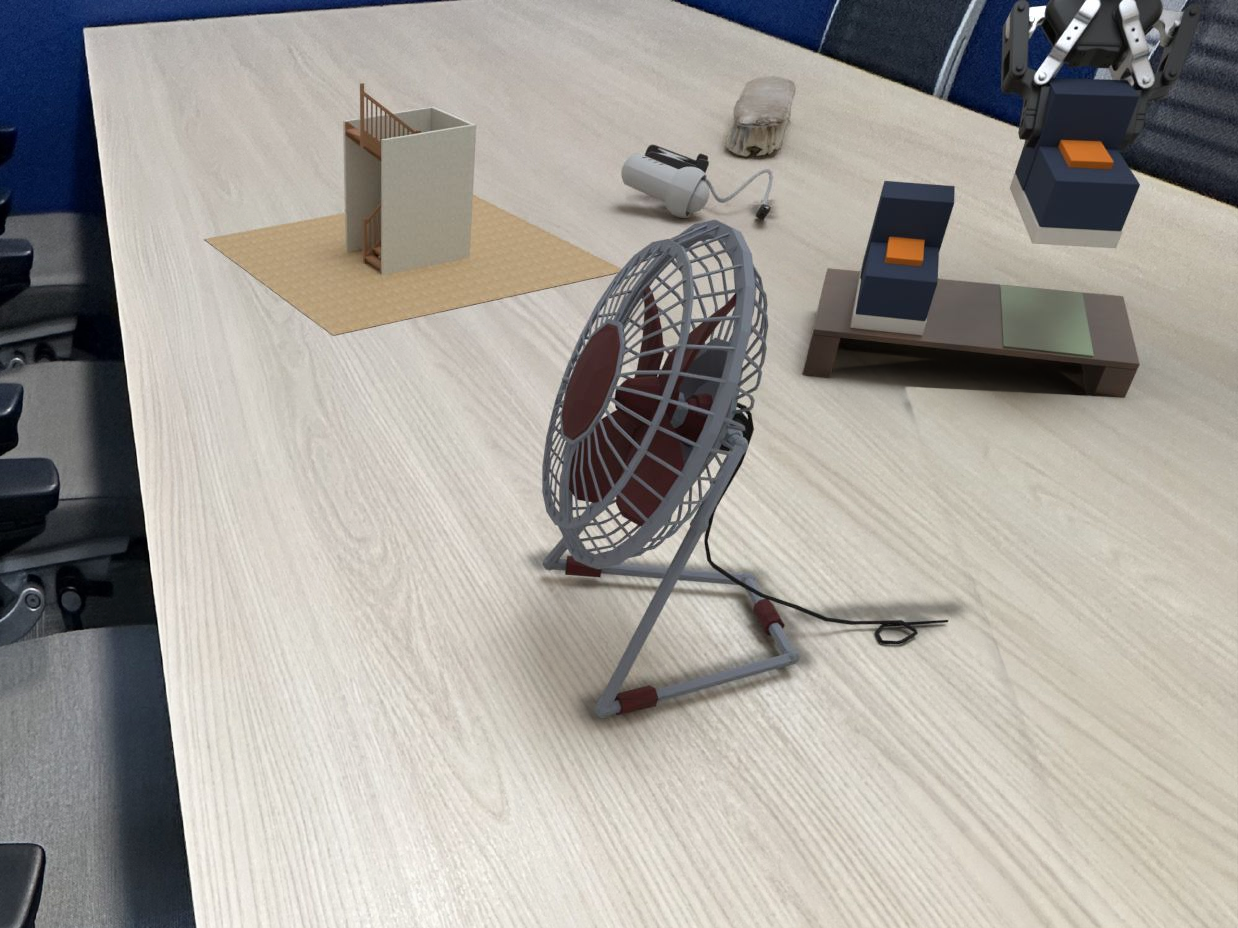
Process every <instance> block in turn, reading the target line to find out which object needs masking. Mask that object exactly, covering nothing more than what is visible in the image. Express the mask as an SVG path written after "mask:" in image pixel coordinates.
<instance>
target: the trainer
mask: <svg viewBox="0 0 1238 928" xmlns="http://www.w3.org/2000/svg"><path fill="white" fill-rule="evenodd" d="M1047 87H1050V91H1049V96H1048V102H1047V108H1046V114H1045V119H1044V125H1043V130H1042V133H1041V136H1040V138H1039V139H1038V141H1037V143H1036V144H1035V146H1034V147H1033V148H1025V147H1024V145H1023V147H1022V150H1021V153H1020V154H1019V159H1018V162H1017V164H1016V168H1015V170H1014V173H1013V177H1012V180H1011V183H1010V185H1009V190H1010V193H1011V195H1012V198H1013V200H1014V203H1015V204H1016V207H1017V209H1018V212H1019V214H1020V215H1019V216H1020V217H1021V220H1022V222H1023V224H1024V227H1025V229H1026V232H1027V235H1028V237H1029V239H1030V241H1031V244H1033V245H1049V246H1066V247H1082V248H1083V247H1085V248H1105V249H1117V247H1118V244H1119V243H1120V240H1121V237H1122V235H1123V229H1124V227H1125V224H1126V221H1127V219H1128V216H1129V214H1130V211H1131V209H1132V207H1133V204H1134V202H1135V198H1136V196H1137V194H1138V191H1139V189H1140V187H1141V183H1140V182H1139V180H1138V179H1137V178H1136V176H1135V174H1134V173H1133V171H1132V169H1131V168H1130V166H1129V165H1128V163H1127V162H1126V160H1125V158H1124V157H1123V156H1122V153H1121V152H1119V149H1120V146H1121V144H1122V141H1123V139H1124V136H1125V133H1126V131H1127V128H1128V126H1129V123H1130V120H1131V118H1132V115H1133V113H1134V110H1135V107H1136V105H1137V102H1138V100H1139V97H1140V96H1139V95H1138V94H1137V92H1136V91H1135V90H1134V88H1133V87H1132V86H1131V85H1130V83H1129V82H1128V81H1127V80H1112V79H1103V78H1102V79H1101V78H1072V77H1070V78H1067V77H1054V78H1051V79H1050V80H1049V82H1048V85H1047Z"/></svg>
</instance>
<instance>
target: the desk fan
mask: <svg viewBox="0 0 1238 928" xmlns="http://www.w3.org/2000/svg"><path fill="white" fill-rule="evenodd" d="M717 241H718V243H719V244H720V246H721V247H722V249H721V250H717V251H715V250H714V249H713V247H711V245H710V244H712V243H714V242H717ZM699 242H700V243H699ZM703 246H704V247H705V248H706V249H707V250H708V251H709V253H708V254H705V255H702V256H698V255H697V254H696V252H695V251H693V250H695V249H698V248H701V247H703ZM687 252H689V254H690V255H691V256H692V257H693V258H692V259H690V258H689V255H688V254H687ZM725 253H726V255H727V256H728V258H729V259H730V262H731V266H728V267H724V266H723V263H722V260H721V258H720V257H719V255H723V254H725ZM712 257H713V258H714V259H715V261H717V263H718V265H719V266H718V267H719V269H715V270H712V271H710V270H709V268H708V266H707V265H706V264H705V263H704V262H703V261H704V260H706V259H709V258H712ZM697 262H698V264H699V265H700V266H701V267H702V268H703V270H704V271H705V272H704V273H700V274H696V275H693V266H692V264H693V263H697ZM643 263H644V264H643ZM641 264H643V266H642V267H641V268H640V266H641ZM670 264H672V265H673V266H674V267H675V268H674V269H672V271H671V272H670V273H669V274H667V275H666V276H665V277H664V278H663V279H662V278H661V277H660V275H661V274H662V273H663V272H664V270H665V269H666V268H667V267H668V266H669V265H670ZM639 268H640V270H638V269H639ZM637 270H638V271H637ZM732 270H733V279H734V280H733V284H734V288H732V289H728V286H727V279H726V272H727V271H732ZM678 271H679V272H680V274H681V280H680V281H679V282H677V283H675V284H674V285H673V286H670V285H669V284H668V283H667V282H666V281H668V279H670V278H671V277H672V276H673V275H674V274H676V272H678ZM720 273H721V278H722V285H723V290H721V291H715V289H714V283H713V279H712V275H715V274H720ZM633 277H634V278H633ZM705 277H707V280H708V284H709V288H710V293H703V294H700V291H699V288H698V285H697V283H696V281H695V280H696V279H700V278H705ZM632 278H633V279H632ZM631 279H632V280H631ZM655 280H657V281H658V282H659V283H657V284H656V285H655V286H654V287H653V288H651V286H652V284H653V283H654V282H655ZM635 281H636V282H635ZM634 282H635V283H634ZM628 283H629V284H628ZM627 285H628V286H627ZM632 285H633V286H632ZM681 285H682V293H683V294H682V296H683V297H682V296H681V295H680V294H679V292H677V291H676V289H678V288H679V287H680V286H681ZM626 286H627V289H626V290H624V289H625V287H626ZM631 286H632V287H631ZM661 286H663V287H665V288H666V289H667V291H666V292H664V293H663V294H661V295H660V296H659V297H658V298H656V299H655V296H654V292H656V291H657V290H658V288H660V287H661ZM619 289H620V290H619ZM757 290H758V291H759V292H758V300H757ZM618 291H619V292H618ZM669 294H673V296H674V297H676V298H677V300H678V301H677V302H675V303H673V304H672V305H670V306H668V307H666V308H665V309H662V308H661V307H660V306H658V303H659V302H660V301H661V300H663V299H664V298H666V297H668V295H669ZM730 294H731V295H732V296H731V297H730V299H729V295H730ZM723 295H724V299H725V304H724V305H723V306H721V307H720V308H719V306H718V301H717V296H723ZM622 296H623V297H622ZM616 297H617V299H616ZM711 297H712V301H713V305H714V312H713V313H712V314H711V315H709V316H708V315H707V310H706V307H705V305H704V302H703V300H702V299H706V298H711ZM767 297H768V296H767V292H766V291H765V290H764V284H763V279H762V276H761V274H760V273H759V272H758V270H757V268H756V266H755V264H754V261H753V254H752V251H751V250H750V246H749V245H748V244H747V241H746V239H745V237H744V235H743V233H742V231H741V230H738V229H736V228H735V227H733V226H731V225H729V224H727V223H724V222H723V221H720V220H718V219H711V220H706V221H701V222H698V223H694V224H692V225H690V226H689V227H688V228H686V229H684V230H683V231H682V232H681V233H679V234H678V235H675V236H673V237H671V238H666V239H660V240H655V241H652V242H650V243H649V244H648V245H646V246H645V247H643V248H642V249H640V250H639V251H637V253H635V254H634V255H633V256H632V257H630V259H629V260H628V261H627V263H625V265H624V266H623V267H621V271H620V272H618V273H616V275H615V276H614V277H613V279H612V281H611V282H610V284H609V285H608V287H607V288H606V289H605V291H604V292H603V294H602V295H601V296H600V299H599V300H598V301H597V303H596V305H595V307H594V309H593V311H592V312H591V314H590V316H589V318H588V320H587V321H586V324H585V326H584V327H583V329H582V331H581V332H580V335H579V336H578V339H577V341H576V344H575V346H574V348H573V351H572V354H571V356H570V358H569V360H568V361H567V365H566V368H565V370H564V373H563V376H562V377H561V382H560V384H559V385H560V386H559V388H558V391H557V394H556V397H555V400H554V404H553V407H552V412H551V415H550V420H549V422H548V423H549V424H548V429H547V433H546V436H545V443H544V451H543V459H542V465H541V467H542V469H541V472H542V473H541V476H542V477H541V480H542V481H541V483H542V484H541V485H542V487H541V488H542V489H541V492H542V493H541V494H542V497H543V502H544V507H545V511H546V514H547V515H548V517H549V518H550V520H551V521H552V523H553V525H554V526H556V527H558V530H559V532H560V534H561V535H562V537H561V539H560V540H559V541H558V542H557V543H556V545H555V546H554V547H553V549H552V550H550V552H549V553H548V554H547V556H545V557H544V558H543V559H542V566H543V568H544V569H545V570H547V571H553V570H556V571H564V576H575V577H576V576H577V577H587V578H588V577H589V578H601V577H602V576H601V575H602V574H603V575H612V576H613V575H615V576H626V577H637V578H649V579H661V581H660V584H659V586H658V587H657V589H656V591H655V593H654V595H653V596H652V599H651V600H650V602H649V604H648V606H647V608H646V610H645V612H644V613H643V616H642V618H641V620H640V622H639V624H638V625H637V627H636V629H635V631H634V633H633V634H632V637H631V639H630V640H629V642H628V645H627V646H626V648H625V650H624V652H623V654H622V656H621V657H620V659H619V662H618V663H617V666H616V667H615V668H614V671H613V673H612V675H611V677H610V679H609V680H608V682H607V684H606V687H605V688H604V690H603V692H602V694H601V696H600V698H599V700H598V702H597V703H596V704H595V705H594V710H593V711H594V714H595V715H596V716H597V717H599V718H602V719H604V718H607V717H609V716H611V715H612V716H613V715H616V716H621V715H626V714H631V713H635V712H638V711H643V710H647V709H651V708H655V707H656V706H657V704H658V702H662V701H665V700H669V699H672V698H677V697H680V696H683V695H687V694H691V693H695V692H698V691H702V690H705V689H708V688H712V687H715V686H719V685H720V686H721V685H723V684H726V683H727V684H728V683H730V682H734V681H738V680H740V679H744V678H748V677H752V676H755V675H758V674H762V673H765V672H769V671H773V670H777V669H780V668H783V667H788V666H792V665H796V664H797V663H798V662H799V661H800V659H801V654H800V651H799V650H797V649H796V648H794V646H793V644H792V642H791V641H790V639H789V638H788V635H787V634H786V632H785V631H784V628H785V626H786V624H785V623H784V621H783V620H782V619H783V618H781V616H780V614H779V612H778V610H777V608H776V606H775V605H774V603H777V604H779V605H782V606H786V607H789V608H792V609H794V610H796V611H799V612H801V613H804V614H806V615H808V616H812V617H814V618H817V619H818V620H821V621H824V622H828V623H835V624H842V625H851V626H859V625H861V626H863V625H864V626H865V625H879V626H878V628H877V629H876V630H874V635H875V637H876V640H877V642H878V643H880V644H881V645H902V644H906V642H908V641H910V640H911V639H912V638H914V637H916V636H917V635H918V630H917V628H915V627H914V626H917V625H918V626H919V625H930V624H931V625H932V624H943V623H949V619H939V620H921V621H920V620H919V621H917V620H916V621H904V620H902V619H893V620H890V619H888V620H851V619H849V620H848V619H842V618H835V617H827V616H825V615H822V614H821V613H820V614H819V613H818V612H815V611H813V610H810V609H808V608H806V607H803V606H800V605H798V604H794V603H792V602H789V601H786V600H783V599H780V598H777V597H774V596H771V595H768V594H765V593H762V591H761V590H760V587H759V586H758V584H757V582H756V575H754V574H753V573H752V572H750V571H746V572H743V573H737V572H727V571H726V570H725V569H723V568H722V567H720V565H718V564H716V563H715V562H714V561H713V560H712V556H711V551H710V545H709V541H708V540H709V537H710V533H711V529H712V524H713V521H714V517H715V513H716V511H717V508H718V506H719V504H720V502H721V501H722V498H723V497H724V496H725V494H726V492H727V491H728V489H729V487H730V486H731V483H732V482H733V480H734V479H735V477H736V475H737V473H738V471H739V470H740V468H741V467H742V465H743V462H744V459H745V457H746V454H747V452H748V448H749V446H750V444H751V440H752V437H753V434H754V431H755V427H754V421H753V414H752V412H751V411H752V410H753V409H754V406H755V401H756V399H755V398H754V396H753V395H752V393H754V392H755V391H758V389H759V386H760V385H761V380H762V376H763V371H762V368H763V367H764V365H765V360H766V355H767V348H768V347H767V337H768V330H769V317H768V305H769V303H768V298H767ZM621 298H622V299H621ZM609 299H611V300H610V304H609V306H608V303H609ZM615 299H616V301H615ZM694 300H697V301H698V304H699V307H700V309H701V313H702V315H703V317H700V318H692V315H693V305H694ZM620 301H621V302H620ZM614 302H615V304H614ZM613 304H614V306H613ZM642 304H643V308H644V309H643V310H642V311H641V312H640V314H639V315H638V316H637V318H635V320H633V318H634V316H635V314H636V313H637V312H638V310H639V309H640V307H641V306H642ZM618 305H619V306H618ZM679 305H681V306H682V314H681V320H678V321H676V322H674V321H673V320H672V318H671V317H670V316H669V315H668V314H667V313H668V312H669V311H671V310H672V309H674V308H676V307H678V306H679ZM607 307H608V310H607ZM612 308H613V309H612ZM755 308H756V309H757V311H756V312H757V313H756V319H755V321H754V324H752V323H753V317H754V313H755ZM602 310H603V311H602ZM606 310H607V311H606ZM732 310H733V311H732ZM611 311H612V312H611ZM601 312H602V313H601ZM606 312H607V313H606ZM730 312H732V314H731V315H729V313H730ZM600 313H601V314H600ZM660 316H663V317H664V318H666V321H668V323H669V325H667V326H665V327H663V326H662V323H661V318H660ZM609 317H610V318H609ZM642 317H643V322H642V324H640V323H638V322H639V321H640V320H641V318H642ZM600 318H601V319H600ZM760 318H761V319H760ZM599 319H600V323H599ZM604 319H605V320H604ZM760 320H761V321H760ZM726 321H729V322H728V325H727V327H726V331H725V334H724V336H723V339H722V338H721V337H722V335H723V331H724V326H725V324H726ZM759 322H760V327H759V330H757V329H756V328H757V327H758V326H759ZM630 323H631V325H630V326H629V324H630ZM696 323H697V324H698V323H699V324H698V325H697V326H696ZM594 324H595V327H594V331H593V332H592V329H593V326H594ZM598 325H599V326H598ZM719 325H720V326H719ZM627 326H629V327H628V328H627ZM634 326H635V327H637V329H636V330H634V332H633V333H632V334H631V335H630V336H629V337H628V338H627V339H626V336H627V335H628V334H629V333H630V332H631V330H632V329H633V328H634ZM677 326H680V331H679V329H678V327H677ZM718 326H719V330H718V333H717V336H716V337H714V335H715V332H716V329H717V327H718ZM626 328H627V329H626ZM691 328H692V331H691ZM625 329H626V331H625ZM670 329H673V331H674V332H675V333H676V335H677V336H678V342H677V344H673V345H669V346H666V345H665V344H664V339H663V338H664V336H663V333H664V332H665V331H666V332H667V331H668V330H670ZM731 329H732V333H731V335H730V337H729V334H730V332H731ZM640 331H642V337H641V338H640V339H638V340H637V341H636V342H635V343H633V344H632V345H630V346H629V347H628V346H627V344H628V343H629V342H630V341H631V340H632V339H633V338H634V337H636V335H637V334H638V333H639V332H640ZM752 334H754V335H755V339H754V340H753V341H752V343H751V344H750V346H749V347H748V345H749V341H750V338H751V336H752ZM728 337H729V339H728ZM708 339H709V341H708V342H707V340H708ZM586 340H587V341H586ZM759 341H761V344H760V346H759V349H758V351H757V352H756V353H755V354H754V355H753V356H752V357H750V356H749V354H750V352H751V351H752V350H753V348H755V346H756V345H757V343H758V342H759ZM706 342H707V343H706ZM639 345H640V348H639V349H640V350H639V352H637V351H635V350H633V349H634V348H636V347H637V346H639ZM628 353H630V354H632V355H633V356H632V357H630V358H628V359H626V360H624V358H625V355H627V354H628ZM665 353H667V357H666V358H665V360H664V362H663V359H664V355H665ZM760 355H761V357H760V362H759V364H758V363H757V362H756V359H757V358H759V356H760ZM637 359H638V360H637ZM635 360H637V367H636V370H632V371H628V372H622V369H623V367H624V366H625V365H627V364H629V363H632V362H633V361H635ZM745 360H746V361H747V362H746V364H745V365H744V361H745ZM662 362H663V365H662ZM743 365H744V366H743ZM661 366H662V367H661ZM750 366H752V367H753V368H755V370H753V371H752V372H751V373H750V374H748V375H747V376H746V377H744V378H743V373H744V372H745V371H746V370H747V369H748V368H749V367H750ZM756 374H757V379H756V384H755V385H754V386H753V387H752V388H750V389H748V390H744V389H743V388H741V387H742V386H743V385H744V384H745V383H746V382H748V381H749V380H751V378H752V377H754V376H755V375H756ZM631 376H634V377H631ZM620 378H622V379H624V380H623V381H622V383H620V385H618V383H619V380H620ZM614 392H615V393H614ZM613 396H614V397H613ZM744 397H748V398H749V400H750V404H749V406H747V405H745V404H742V403H740V402H739V400H740V399H742V398H744ZM610 403H612V404H613V405H614V408H615V409H616V410H614V411H612V412H610V411H609V409H608V408H609V405H610ZM560 408H561V410H560ZM745 414H746V415H745ZM604 415H606V416H604ZM558 419H559V421H557V420H558ZM555 432H557V433H556V434H555ZM554 434H555V436H554ZM558 437H559V438H558ZM557 439H558V440H557ZM556 441H557V442H556ZM560 442H561V443H560ZM555 443H556V445H555ZM554 445H555V447H554V448H553V446H554ZM559 445H560V446H559ZM558 447H559V448H558ZM560 454H561V455H560ZM718 454H719V455H723V456H725V458H724V459H723V461H722V460H721V459H720V457H719V455H718ZM554 457H555V459H554ZM553 459H554V461H553V463H552V460H553ZM714 459H715V460H716V461H717V464H718V465H719V469H718V471H717V473H716V474H715V476H714V477H712V473H711V471H710V468H709V465H710V464H711V463H712V461H713V460H714ZM557 462H558V465H557V468H556V471H555V472H554V470H555V466H556V463H557ZM561 465H562V466H561ZM560 468H561V470H560ZM705 470H706V474H707V477H706V476H702V474H703V473H704V471H705ZM559 471H561V472H560V474H559V479H558V473H559ZM553 479H554V488H553ZM702 481H706V482H707V481H708V482H709V487H708V489H707V491H706V492H705V493H704V495H703V488H702ZM696 482H697V488H698V489H697V491H698V500H693V486H694V485H695V484H696ZM557 487H558V498H557ZM552 488H553V489H554V490H553V489H552ZM687 493H688V500H687V501H686V500H685V497H686V496H687ZM573 498H574V499H573ZM573 501H574V502H575V503H574V502H573ZM578 501H582V502H585V506H579V502H578ZM574 504H575V506H574ZM613 504H615V506H616V507H617V509H618V511H619V512H617V513H616V514H614V513H613V512H612V511H611V509H609V506H611V505H613ZM556 505H557V506H558V508H557V507H556ZM684 505H687V511H686V512H685V515H684V517H683V518H682V512H683V507H684ZM692 505H695V506H694V507H693V509H692ZM677 508H678V510H677ZM583 510H584V511H583ZM676 510H677V516H676V520H675V521H672V517H673V514H674V513H675V512H676ZM574 511H575V512H576V513H575V514H576V516H574ZM580 511H583V512H582V513H581V515H580ZM604 511H606V513H607V514H608V515H609V517H608V518H606V519H604V520H601V521H598V520H597V517H598V516H599V515H601V514H602V513H603V512H604ZM693 515H694V516H693ZM619 516H621V517H622V518H624V519H626V521H625V522H623V523H621V521H620V520H619V519H618V517H619ZM692 517H693V518H692ZM681 518H682V519H681ZM690 519H691V520H690ZM689 520H690V522H689V528H688V530H687V532H686V534H685V535H684V537H683V539H682V541H681V544H680V545H679V547H678V549H677V551H676V552H675V555H674V557H673V559H672V561H671V562H670V564H669V566H668V567H664V566H651V565H640V564H628V563H624V562H625V561H626V560H628V559H632V558H636V557H640V556H642V555H644V554H645V553H647V552H648V551H653V550H655V549H657V548H658V547H660V546H661V545H662V544H663V543H664V542H665V541H666V539H670V538H671V537H673V536H675V534H676V533H677V532H678V531H679V530H680V528H681V527H682V526H683V525H684V524H685V523H686V522H688V521H689ZM592 521H593V522H592ZM610 521H614V522H615V523H616V524H617V526H618V527H616V528H615V529H613V530H612V531H610V532H608V533H607V532H606V531H605V529H604V528H603V527H602V526H601V525H604V524H607V523H608V522H610ZM631 522H632V523H633V524H635V525H636V526H635V527H633V528H632V529H630V531H628V530H627V528H625V527H626V526H628V525H629V524H630V523H631ZM593 526H594V527H595V526H596V527H597V528H598V529H599V531H600V532H601V534H602V535H601V534H600V535H596V536H591V534H590V533H589V532H588V530H587V527H593ZM669 526H671V527H670V528H669ZM661 529H662V530H661ZM667 529H668V530H667ZM620 530H622V531H623V532H624V534H625V535H624V536H622V537H621V538H620V539H619V540H617V541H615V542H613V540H612V539H611V538H610V536H612V535H615V534H616V533H617V532H619V531H620ZM660 530H661V531H660ZM583 532H584V533H585V535H586V536H587V537H583V538H580V535H581V534H582V533H583ZM633 533H634V534H633ZM632 534H633V535H632ZM703 534H704V539H703V540H704V541H703V543H704V549H705V555H706V561H707V562H708V564H709V565H710V566H711V568H712V569H714V571H711V570H699V569H698V570H697V569H688V568H686V565H687V563H688V562H689V559H690V558H691V556H692V554H693V552H694V550H695V548H696V546H697V545H698V543H699V541H700V539H701V537H702V535H703ZM601 539H606V540H607V542H608V543H609V545H604V546H598V545H597V544H596V542H595V540H601ZM588 541H589V542H591V544H592V546H593V548H586V547H585V544H584V543H583V542H588ZM648 543H649V544H648ZM647 544H648V545H647ZM646 546H647V547H646ZM608 549H610V550H608ZM567 550H568V553H569V554H570V555H569V554H567V555H566V558H562V557H563V555H564V554H565V553H566V552H567ZM603 550H605V551H603ZM606 550H607V551H606ZM594 552H597V553H594ZM678 581H686V582H695V583H696V582H698V583H709V584H718V585H719V584H721V585H722V584H723V585H732V586H733V585H734V586H735V585H736V586H740V587H741V588H743V589H744V590H745V592H746V593H747V595H748V597H749V598H750V600H751V602H752V604H753V606H752V613H753V615H754V616H755V618H756V619H757V621H758V623H759V624H760V627H761V628H762V631H764V632H765V634H766V636H769V637H772V639H773V641H774V642H775V644H776V646H777V648H778V649H779V651H780V653H781V654H779V655H777V656H776V655H775V656H772V657H770V658H769V657H768V658H765V659H762V660H758V661H755V662H751V663H747V664H743V665H740V666H737V667H733V668H730V669H726V670H722V671H719V672H715V673H712V674H711V673H710V674H707V675H704V676H700V677H696V678H694V679H690V680H686V681H683V682H679V683H675V684H672V685H668V686H665V687H660V688H657V689H656V687H654V686H653V685H650V684H648V685H645V686H640V687H636V688H632V689H629V690H628V689H627V690H625V691H622V692H620V690H621V688H622V687H623V685H624V683H625V681H626V679H627V677H628V675H629V673H630V671H631V670H632V667H633V665H634V664H635V662H636V660H637V658H638V656H639V654H640V652H641V650H642V648H643V647H644V645H645V643H646V641H647V639H648V637H649V635H650V634H651V632H652V630H653V628H654V626H655V624H656V622H657V620H658V618H659V617H660V615H661V613H662V610H663V609H664V607H665V605H666V603H667V602H668V599H669V598H670V595H671V594H672V592H673V590H674V588H675V586H676V584H677V582H678ZM772 602H773V603H772ZM902 626H903V627H905V628H906V629H908V630H910V631H911V632H912V633H910V634H909V635H907V636H905V637H904V638H901V639H899V640H887V639H883V638H882V636H881V635H880V633H881V632H882V630H883V629H884V628H891V627H902Z"/></svg>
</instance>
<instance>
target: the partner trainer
mask: <svg viewBox="0 0 1238 928" xmlns="http://www.w3.org/2000/svg"><path fill="white" fill-rule="evenodd" d="M955 189H956V187H955V185H946V184H945V185H944V184H933V183H932V184H931V183H921V182H920V183H919V182H906V181H895V180H894V181H893V180H884V181H883V184H882V188H881V191H880V195H879V200H878V203H877V207H876V211H875V214H874V218H873V222H872V226H871V229H870V233H869V237H868V240H867V245H866V248H865V252H864V256H863V260H862V263H861V267H860V270H859V271H860V274H859V280H858V286H857V292H856V298H855V304H854V309H853V315H852V321H851V328H855V329H864V330H874V331H883V332H892V333H902V334H911V335H921V336H922V335H923V332H924V329H925V326H926V323H927V315H928V312H929V309H930V306H931V303H932V299H933V296H934V293H935V290H936V286H937V283H938V279H939V263H940V251H941V248H942V245H943V241H944V239H945V236H946V235H945V234H946V232H947V229H948V225H949V223H950V218H951V216H952V212H953V208H954V206H955Z"/></svg>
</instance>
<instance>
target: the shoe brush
mask: <svg viewBox="0 0 1238 928" xmlns="http://www.w3.org/2000/svg"><path fill="white" fill-rule="evenodd" d="M795 95H796V84H795V82H794V81H792V80H791V79H789V78H784V77H780V76H774V75H773V76H772V75H766V76H761V77H756V78H753V79H751V80H750V81H747V82H746V84H744V87H743V89H742V91H741V93H740V95H739V98H738V99H737V100H736V101H735V104H734V106H733V113H732V114H733V124H732V126H731V129H730V131H729V134H728V136H727V139H726V141H725V143H724V144H725V145H724V146H725V147H726V149H728V151H730V152H732V153H733V154H735V155H737V156H742V157H749V156H750V155H751V154H752V151H754V152H758V151H759V149H760V151H759V152H758V153H756V156H757V157H758V156H765V155H767V153H768V155H771V154H772V153H774V150H776V151H778V150H779V149H781V146H782V144H783V140H784V136H785V130H786V128H787V127H788V124H789V122H790V119H791V117H792V106H793V101H794V99H795ZM753 147H754V148H753Z"/></svg>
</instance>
